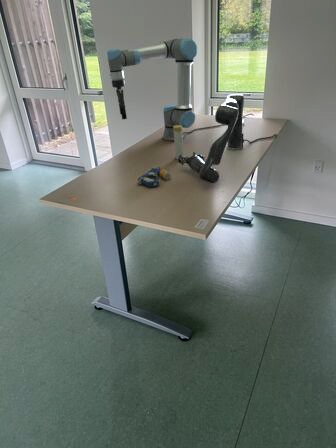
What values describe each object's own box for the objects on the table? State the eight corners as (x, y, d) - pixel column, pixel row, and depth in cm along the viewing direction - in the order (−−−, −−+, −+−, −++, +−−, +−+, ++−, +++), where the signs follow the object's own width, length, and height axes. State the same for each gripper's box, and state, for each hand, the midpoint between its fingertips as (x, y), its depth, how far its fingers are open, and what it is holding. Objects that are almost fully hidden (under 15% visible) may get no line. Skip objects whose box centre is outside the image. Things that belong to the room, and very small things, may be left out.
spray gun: (175, 173, 189) (152, 171, 196) (175, 166, 187) (151, 164, 193) (159, 190, 174) (134, 186, 180) (158, 182, 172) (133, 179, 178)
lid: (179, 131, 199) (179, 127, 198) (171, 131, 202) (171, 127, 200) (183, 129, 203) (183, 125, 202) (176, 128, 205) (176, 124, 204)
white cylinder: (181, 159, 209) (179, 128, 198) (174, 158, 211) (172, 127, 201) (184, 157, 212) (183, 126, 202) (178, 156, 214) (176, 125, 204)
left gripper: (110, 77, 204) (116, 112, 215) (112, 83, 183) (119, 122, 194) (122, 75, 205) (127, 111, 216) (126, 81, 184) (131, 120, 195)
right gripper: (208, 155, 183) (197, 146, 196) (184, 160, 180) (175, 151, 193) (209, 168, 187) (198, 158, 200) (185, 173, 184) (175, 163, 197)
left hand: (123, 116), depth 205 cm, fingers open, 13 cm apart
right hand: (186, 155), depth 197 cm, fingers open, 8 cm apart
